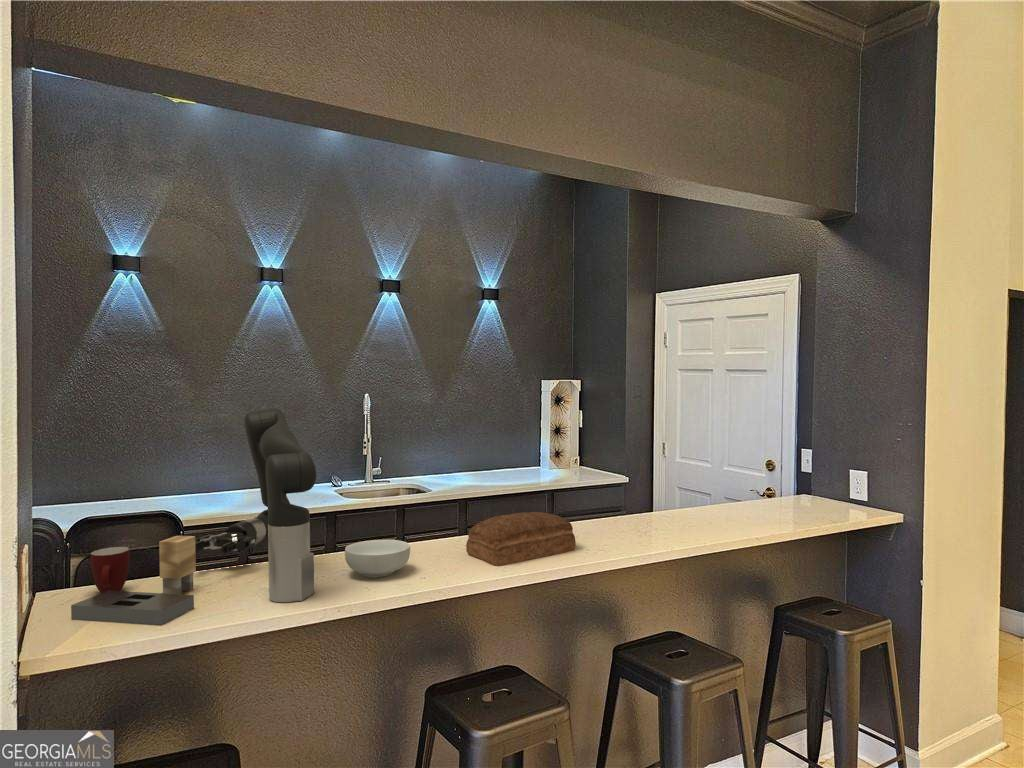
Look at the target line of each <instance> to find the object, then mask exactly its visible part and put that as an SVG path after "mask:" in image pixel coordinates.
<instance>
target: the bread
mask: <svg viewBox="0 0 1024 768" xmlns="http://www.w3.org/2000/svg"><path fill="white" fill-rule="evenodd" d="M573 529H574V528H573V525H572V522H570V521H569V520H567V519H566V518H563V517H561V516H559V515H556V514H552V513H548V512H539V511H531V512H526V511H525V512H523V511H522V512H516V513H511V514H503V515H502V514H501V515H496V516H493V517H490V518H487V519H486V520H483V521H480V522H478V523H477V524H475V525H473V526H472V527H471V528H470V529H469V531H468V533H467V534H468V535H467V536H468V539H467V540H466V544H465V545H466V546H465V547H466V548H465V549H466V553H467V555H469V556H471V557H474V558H476V559H478V560H481V561H483V562H486V563H488V564H490V565H493V566H496V567H499V566H505V565H510V564H514V563H520V562H524V561H528V560H533V559H536V558H537V559H538V558H543V557H549V556H553V555H557V554H563V553H566V552H567V553H568V552H571V551H574V550H575V548H576V542H577V541H576V537H575V534H574V532H573Z"/></svg>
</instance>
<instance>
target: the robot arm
mask: <svg viewBox="0 0 1024 768" xmlns="http://www.w3.org/2000/svg"><path fill="white" fill-rule="evenodd" d="M286 419H287V418H286V417H285V414H284V413H283V411H282V409H279V408H275V407H274V408H273V407H272V408H267V409H260V410H255V411H250V412H247V413H246V414H245V415H244V429H245V435H246V438H247V442H248V447H249V449H250V454H251V458H252V461H253V465H254V468H255V470H256V474H257V477H258V478H257V479H258V483H259V490H260V496H261V501H262V504H263V506H265V507H266V508H267V509H264V510H262V511H261V512H260V513H259V514H258V515H257V516H255V517H253V518H249V519H244V520H242V521H238V522H236V523H234V524H231V525H229V526H228V527H227V528H226V529H225V532H222V533H220V534H216V535H215V534H213V533H210V534H207V535H204V536H201V537H197V538H195V553H198V552H200V551H203V550H207V549H210V550H219V549H221V554H222V555H226V554H228V553H230V552H237V553H238V552H241V551H246V550H248V549H250V548H252V547H254V546H255V545H257V544H259V543H260V542H263V541H265V540H267V548H268V549H267V554H268V555H267V556H268V558H267V559H268V560H267V561H268V599H269V600H270V601H271V602H274V603H291V602H302V601H304V600H305V599H307V598H309V597H310V596H311V595H313V594H315V555H314V552H311V533H310V532H311V529H310V527H311V525H310V520H311V519H310V517H311V516H310V515H311V514H310V510H309V509H308V508H307V507H304V506H302V505H301V506H300V505H296V504H293V503H290V500H289V498H288V496H287V494H289V495H290V494H298V493H299V494H301V493H305V492H308V491H310V490H312V489H313V487H314V486H315V484H316V480H317V467H316V464H315V462H314V459H313V458H312V456H311V454H309V452H308V451H306V450H305V449H304V448H303V447H302V446H301V444H300V443H299V441H298V438H297V437H296V436H295V434H294V433H293V431H292V430H291V429H290V427H289V425H288V421H287V420H286ZM215 544H216V545H215Z"/></svg>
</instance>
